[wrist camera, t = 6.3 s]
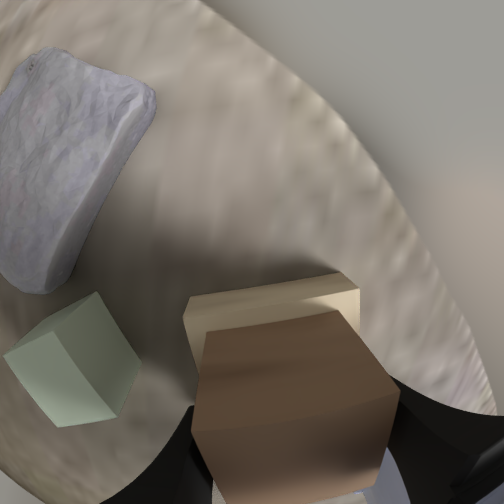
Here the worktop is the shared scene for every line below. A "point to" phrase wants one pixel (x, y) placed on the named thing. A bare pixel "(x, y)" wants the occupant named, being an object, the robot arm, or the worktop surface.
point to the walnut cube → (292, 411)
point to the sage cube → (76, 364)
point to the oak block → (269, 306)
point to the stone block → (61, 160)
